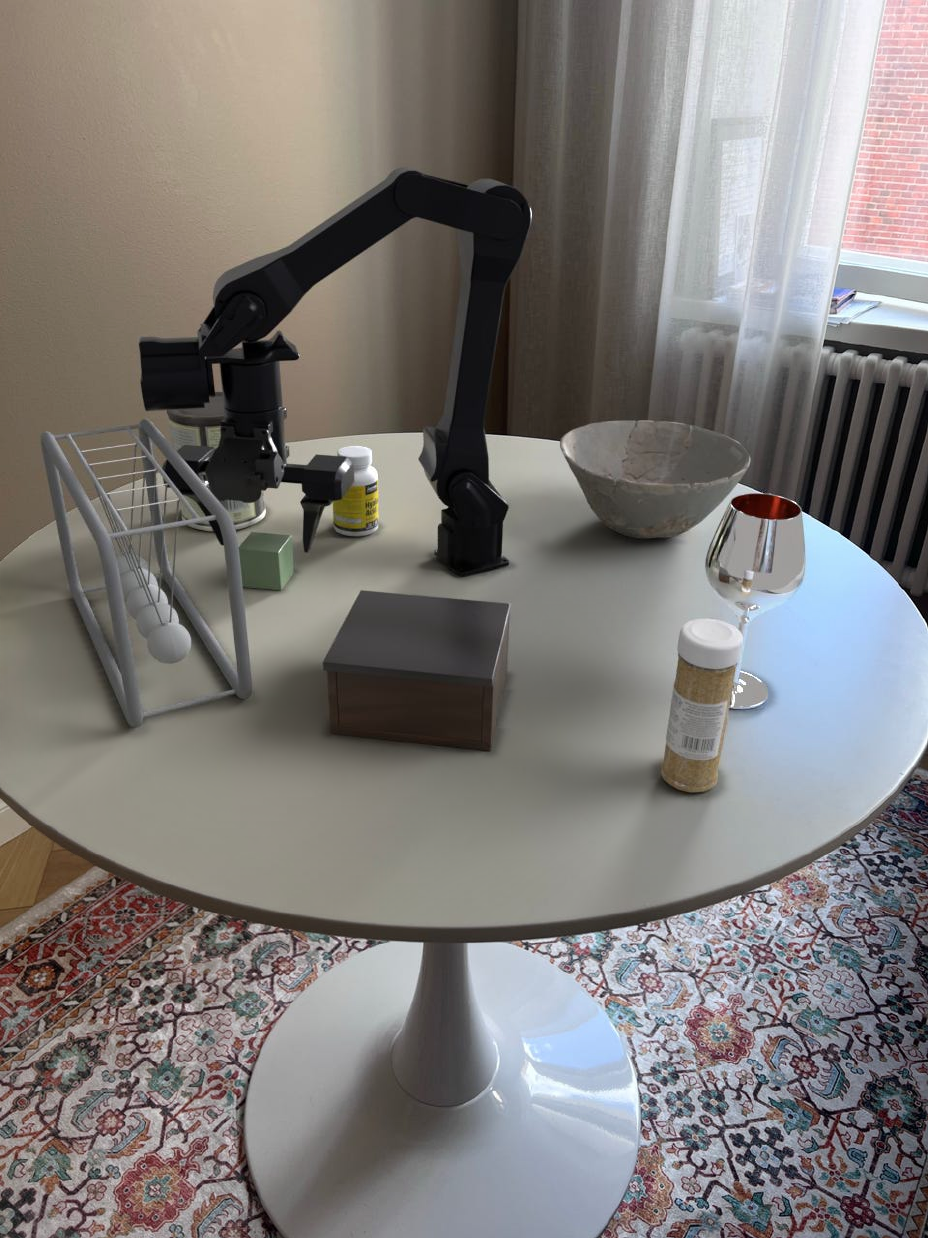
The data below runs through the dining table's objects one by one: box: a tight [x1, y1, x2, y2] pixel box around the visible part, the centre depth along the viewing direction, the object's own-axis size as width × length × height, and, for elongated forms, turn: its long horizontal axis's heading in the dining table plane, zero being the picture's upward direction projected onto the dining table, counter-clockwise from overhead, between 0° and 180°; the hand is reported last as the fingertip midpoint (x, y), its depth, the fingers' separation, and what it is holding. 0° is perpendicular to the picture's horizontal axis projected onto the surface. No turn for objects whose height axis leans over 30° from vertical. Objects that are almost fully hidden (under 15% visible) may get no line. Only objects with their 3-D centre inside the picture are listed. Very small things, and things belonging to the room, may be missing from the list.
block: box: [238, 531, 295, 591], centre depth 106 cm, size 4×4×4 cm
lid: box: [322, 589, 511, 687], centre depth 83 cm, size 12×14×1 cm
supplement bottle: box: [332, 445, 379, 537], centre depth 117 cm, size 5×5×10 cm
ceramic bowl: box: [559, 419, 751, 539], centre depth 119 cm, size 22×23×10 cm
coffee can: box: [166, 391, 267, 532], centre depth 118 cm, size 10×10×14 cm
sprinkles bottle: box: [660, 618, 743, 793], centre depth 75 cm, size 5×5×13 cm
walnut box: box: [326, 613, 511, 752], centre depth 85 cm, size 12×14×7 cm
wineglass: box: [704, 492, 806, 710], centre depth 86 cm, size 8×8×18 cm
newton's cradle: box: [39, 418, 253, 728], centre depth 91 cm, size 30×10×18 cm, turn 29°
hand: (265, 547), depth 105 cm, fingers open, 9 cm apart
